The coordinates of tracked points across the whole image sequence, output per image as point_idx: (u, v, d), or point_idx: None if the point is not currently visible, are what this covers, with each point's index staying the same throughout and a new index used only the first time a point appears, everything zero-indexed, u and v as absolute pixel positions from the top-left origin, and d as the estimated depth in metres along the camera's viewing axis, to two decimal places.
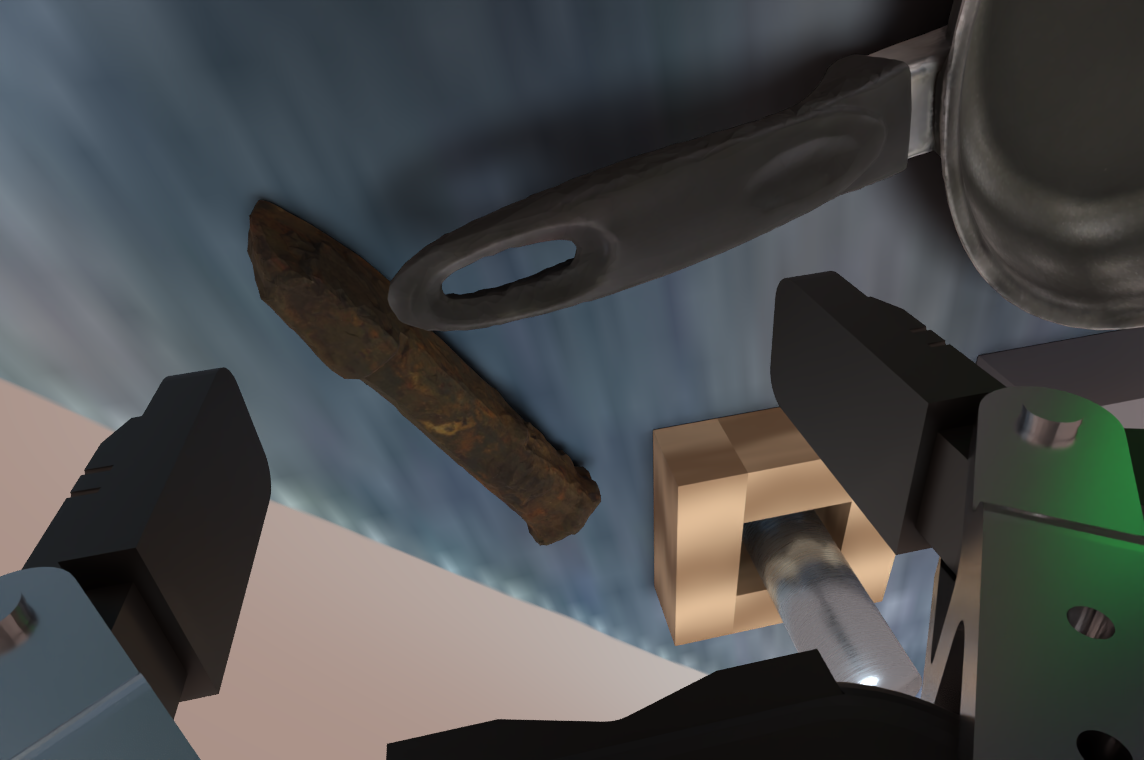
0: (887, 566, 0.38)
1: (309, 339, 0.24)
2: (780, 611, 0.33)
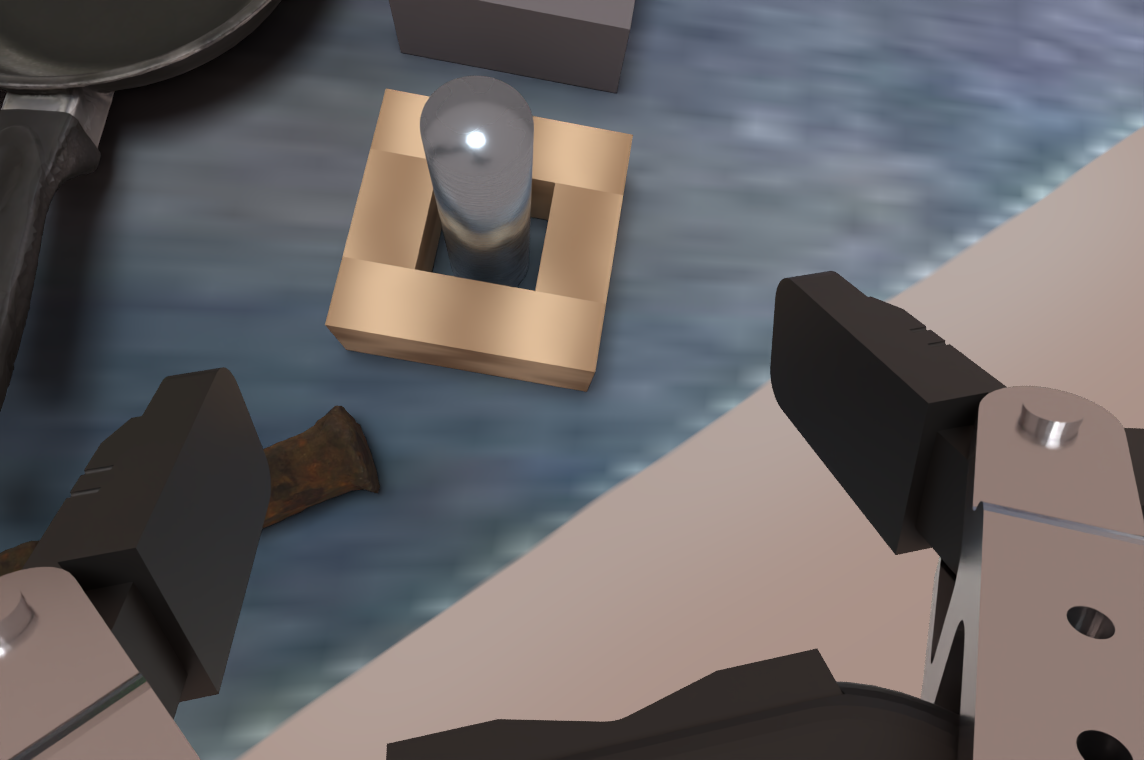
0: (568, 128, 0.35)
1: None
2: (476, 235, 0.30)
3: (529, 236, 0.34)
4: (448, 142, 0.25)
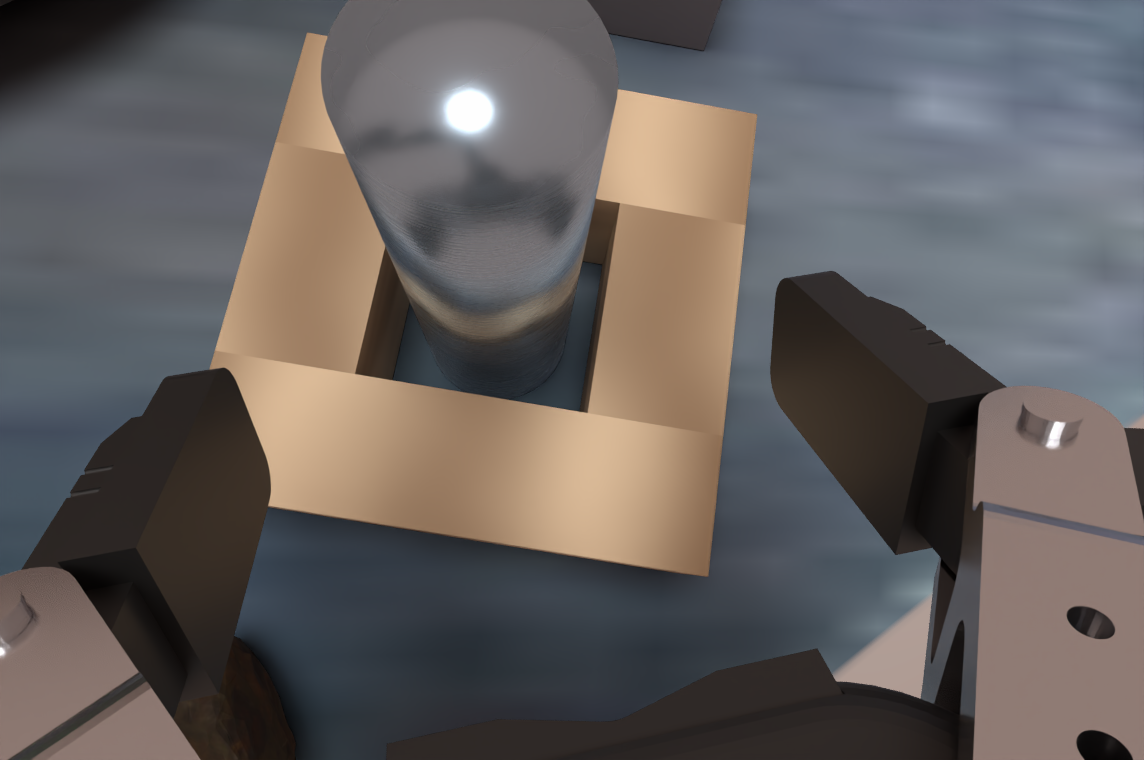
0: (641, 104, 0.19)
1: None
2: (472, 321, 0.14)
3: None
4: (396, 116, 0.10)
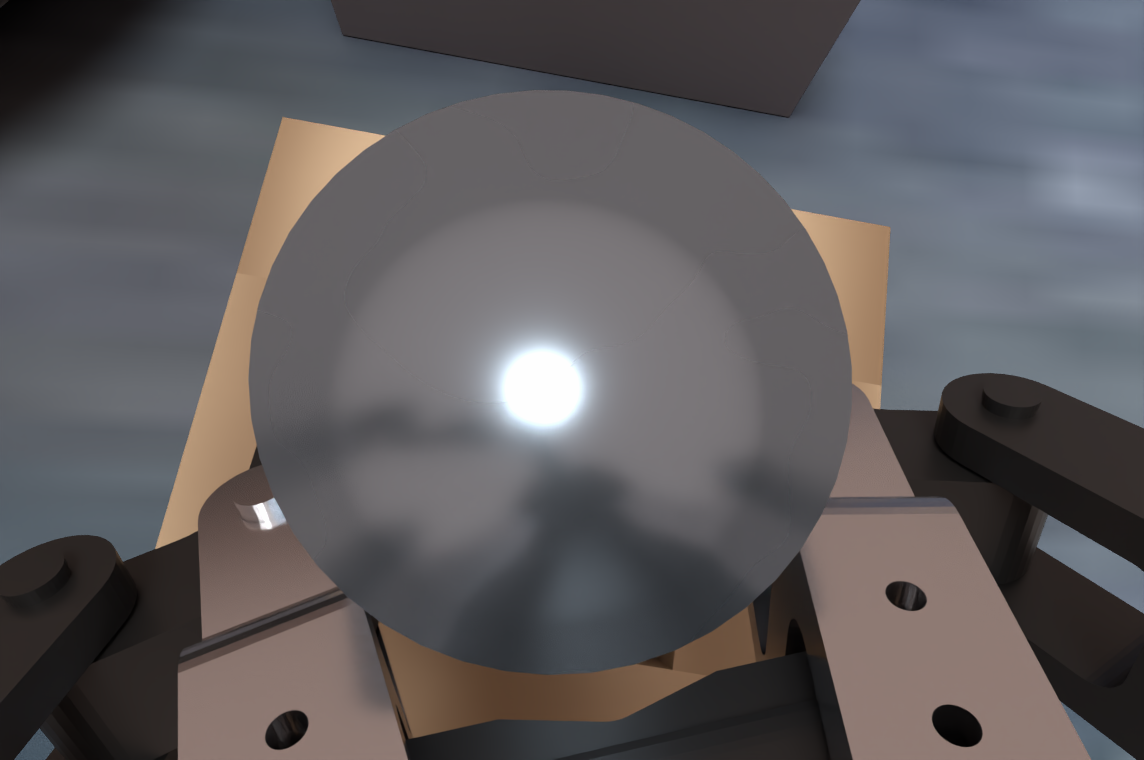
0: None
1: None
2: None
3: None
4: (405, 462, 0.05)
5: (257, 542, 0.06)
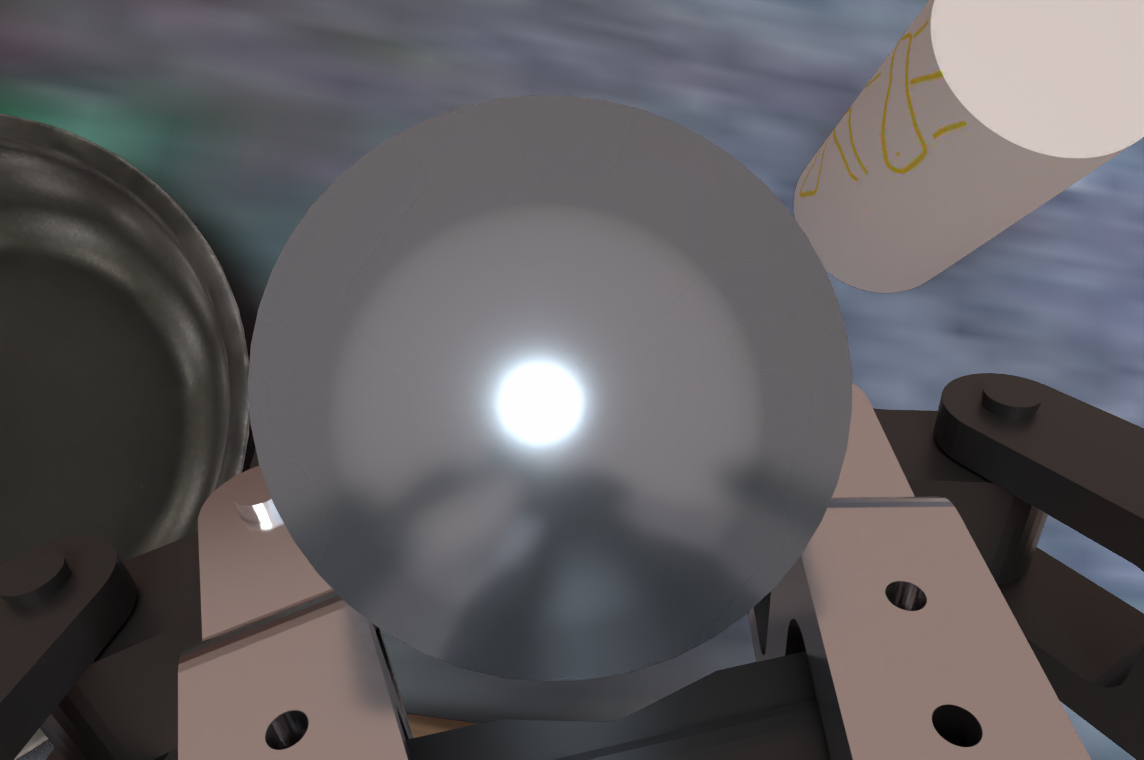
0: None
1: None
2: None
3: None
4: (404, 468, 0.05)
5: (258, 542, 0.06)
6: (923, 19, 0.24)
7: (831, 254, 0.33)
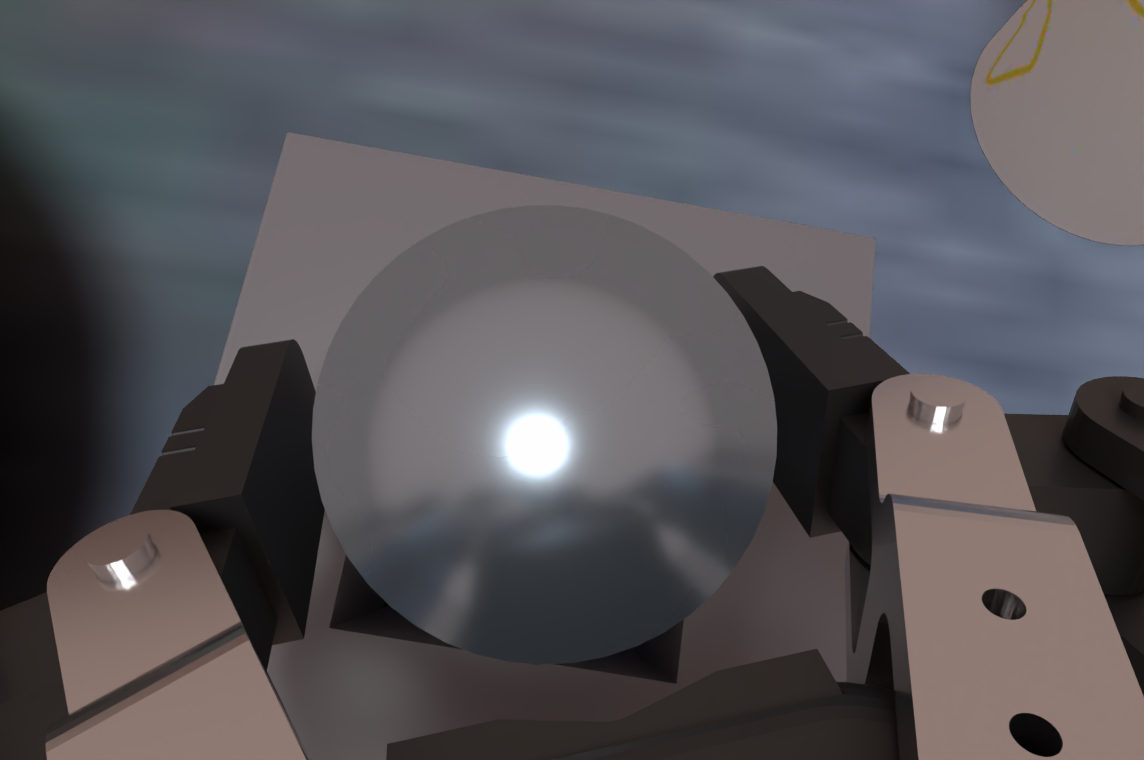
0: None
1: None
2: None
3: None
4: (432, 502, 0.06)
5: (104, 606, 0.06)
6: None
7: (1049, 176, 0.20)
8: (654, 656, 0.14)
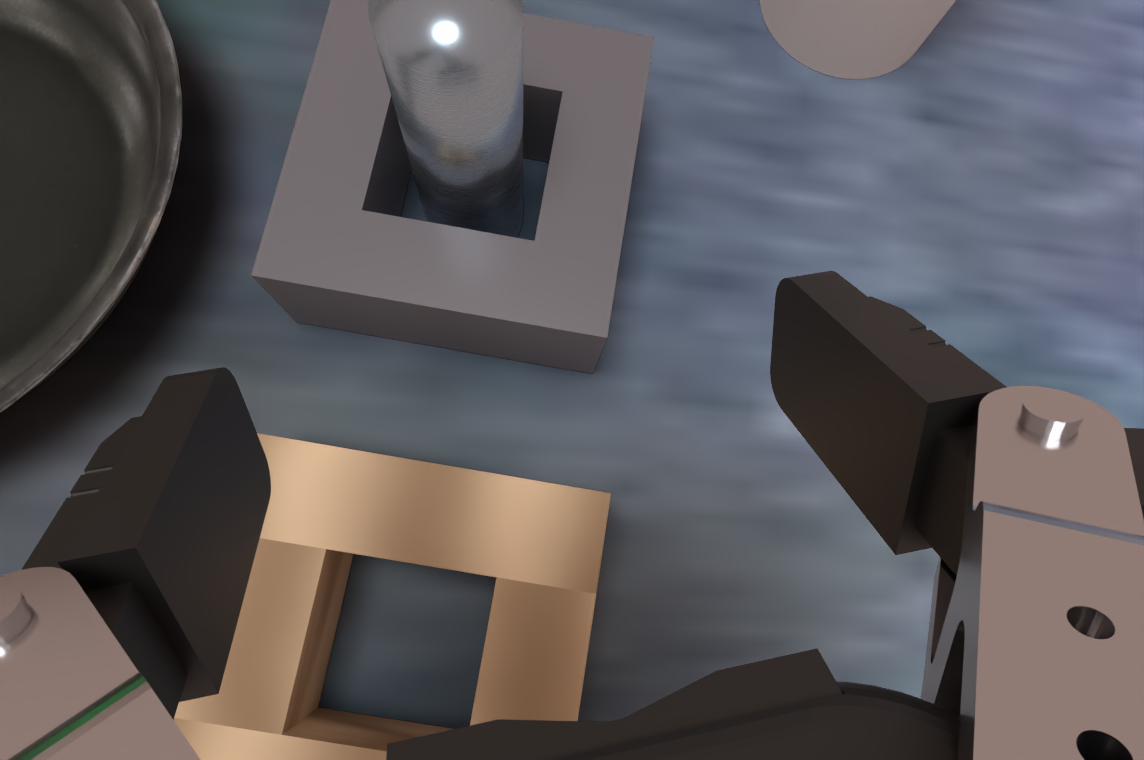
0: (517, 487, 0.24)
1: None
2: (451, 170, 0.23)
3: (522, 182, 0.27)
4: (406, 27, 0.18)
5: None
6: None
7: (795, 31, 0.32)
8: None
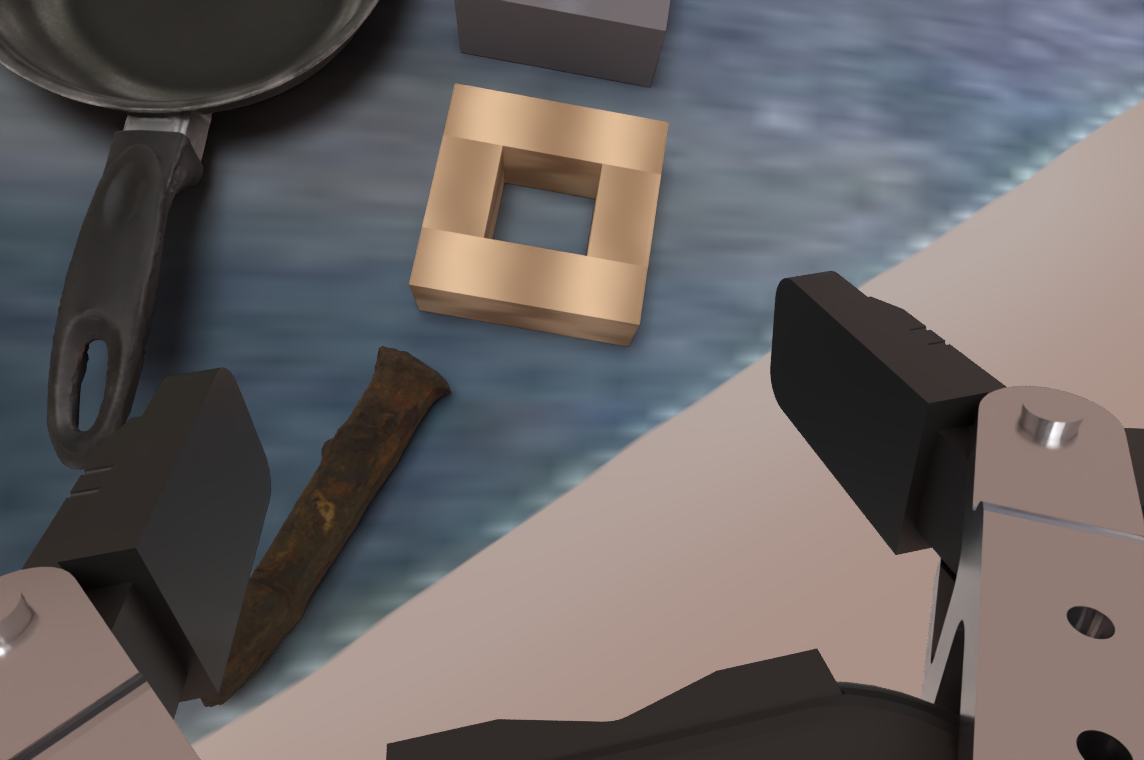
0: (613, 117, 0.40)
1: (250, 647, 0.32)
2: None
3: None
4: None
5: None
6: None
7: None
8: None
